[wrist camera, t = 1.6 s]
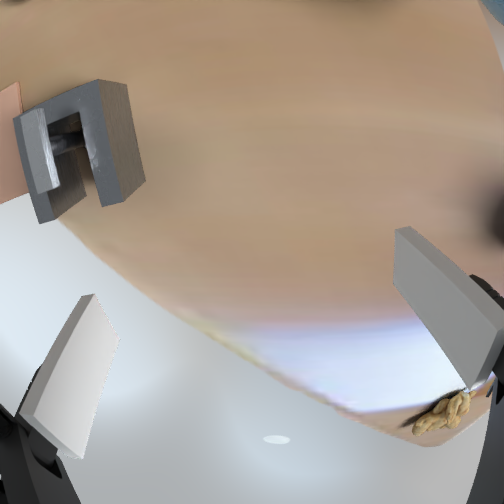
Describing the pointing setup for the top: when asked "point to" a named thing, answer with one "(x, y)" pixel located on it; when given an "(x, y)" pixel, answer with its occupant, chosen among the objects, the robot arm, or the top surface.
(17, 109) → the tile
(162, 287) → the top surface
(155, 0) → the top surface
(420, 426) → the ginger root
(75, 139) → the post stand
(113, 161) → the c link
